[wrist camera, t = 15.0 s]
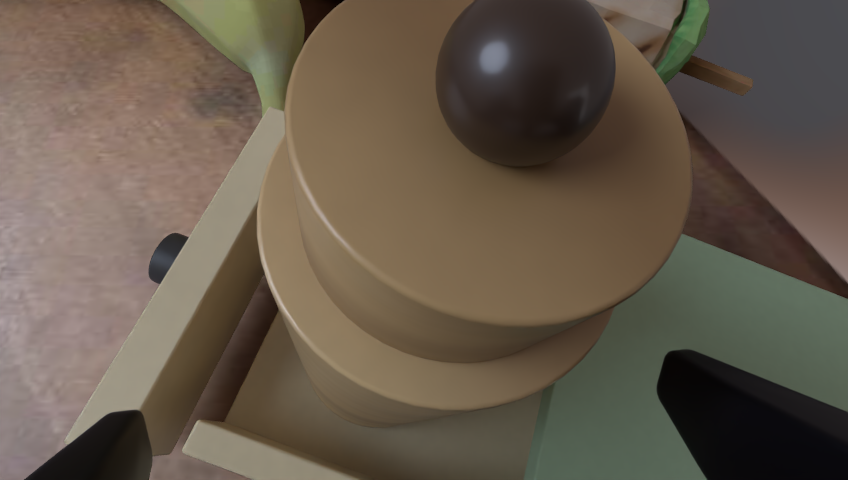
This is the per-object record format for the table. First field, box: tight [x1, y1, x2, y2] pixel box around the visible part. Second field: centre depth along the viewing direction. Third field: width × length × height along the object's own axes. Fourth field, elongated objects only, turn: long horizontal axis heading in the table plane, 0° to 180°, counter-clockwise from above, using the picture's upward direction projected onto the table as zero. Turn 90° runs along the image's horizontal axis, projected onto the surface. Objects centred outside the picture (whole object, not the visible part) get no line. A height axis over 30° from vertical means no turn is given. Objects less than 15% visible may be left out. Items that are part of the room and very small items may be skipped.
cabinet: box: [523, 234, 848, 480], centre depth 15 cm, size 15×11×6 cm
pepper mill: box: [257, 0, 693, 428], centre depth 9 cm, size 5×5×14 cm
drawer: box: [64, 107, 543, 480], centre depth 15 cm, size 16×10×4 cm, turn 71°
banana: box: [159, 0, 305, 118], centre depth 19 cm, size 14×6×20 cm
